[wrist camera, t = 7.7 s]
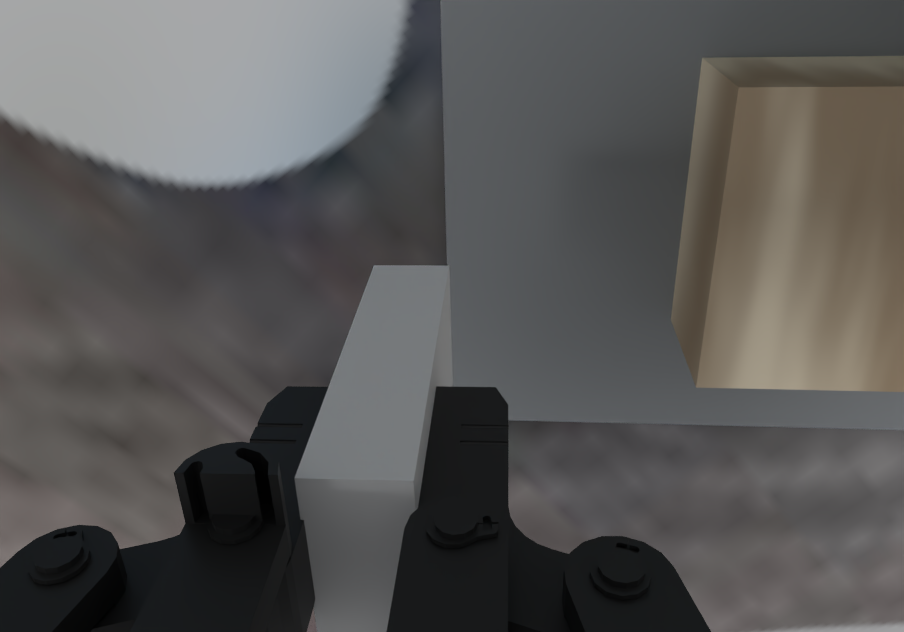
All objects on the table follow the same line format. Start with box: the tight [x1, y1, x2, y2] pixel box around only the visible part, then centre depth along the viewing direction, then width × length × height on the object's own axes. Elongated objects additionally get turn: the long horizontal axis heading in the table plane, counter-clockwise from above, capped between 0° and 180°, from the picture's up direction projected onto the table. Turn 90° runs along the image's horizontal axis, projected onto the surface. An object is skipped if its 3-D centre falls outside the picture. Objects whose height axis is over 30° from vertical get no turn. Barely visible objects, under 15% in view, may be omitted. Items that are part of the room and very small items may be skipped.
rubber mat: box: [440, 0, 904, 430], centre depth 23 cm, size 20×16×1 cm
